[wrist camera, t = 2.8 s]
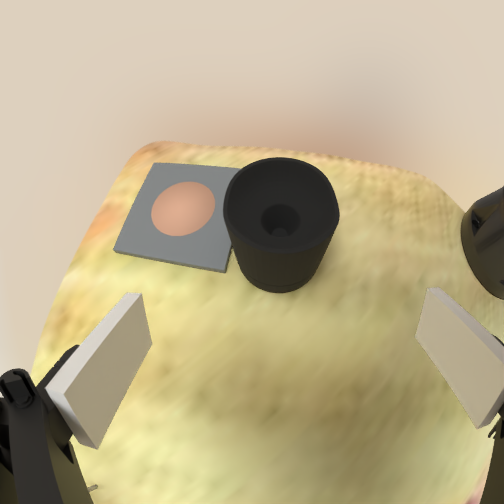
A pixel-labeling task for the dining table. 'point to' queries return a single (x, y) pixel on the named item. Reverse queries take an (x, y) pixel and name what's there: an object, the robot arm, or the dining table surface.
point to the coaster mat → (180, 217)
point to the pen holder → (280, 221)
